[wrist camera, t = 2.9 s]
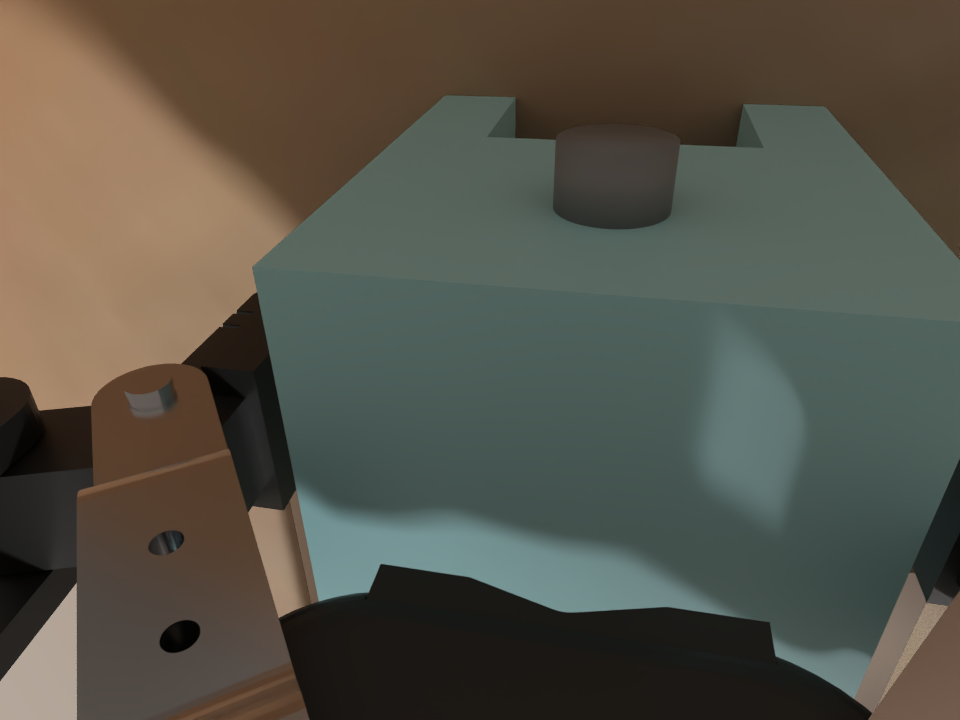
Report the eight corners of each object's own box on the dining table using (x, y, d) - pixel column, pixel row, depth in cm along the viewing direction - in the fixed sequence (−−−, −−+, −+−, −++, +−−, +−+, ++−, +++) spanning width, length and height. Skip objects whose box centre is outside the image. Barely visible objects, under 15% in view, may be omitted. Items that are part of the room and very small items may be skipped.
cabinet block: (835, 57, 11) (1058, 234, 5) (751, 420, 14) (820, 775, 8) (443, 50, 12) (237, 188, 6) (456, 389, 15) (335, 685, 9)
